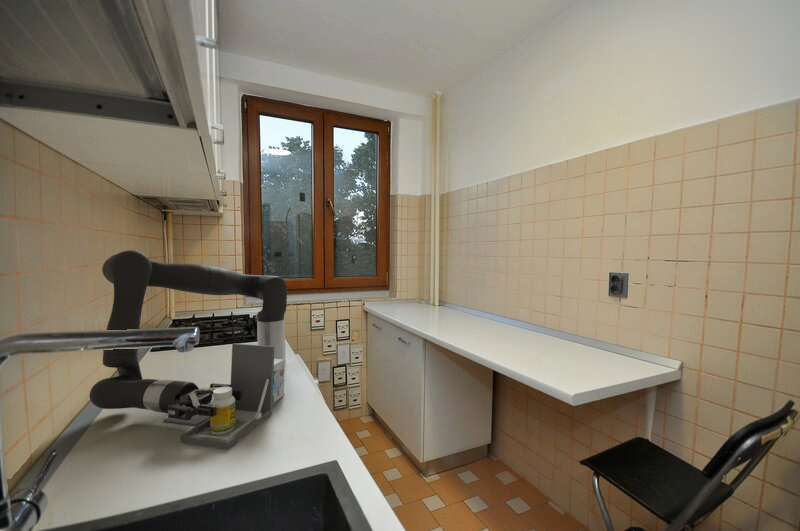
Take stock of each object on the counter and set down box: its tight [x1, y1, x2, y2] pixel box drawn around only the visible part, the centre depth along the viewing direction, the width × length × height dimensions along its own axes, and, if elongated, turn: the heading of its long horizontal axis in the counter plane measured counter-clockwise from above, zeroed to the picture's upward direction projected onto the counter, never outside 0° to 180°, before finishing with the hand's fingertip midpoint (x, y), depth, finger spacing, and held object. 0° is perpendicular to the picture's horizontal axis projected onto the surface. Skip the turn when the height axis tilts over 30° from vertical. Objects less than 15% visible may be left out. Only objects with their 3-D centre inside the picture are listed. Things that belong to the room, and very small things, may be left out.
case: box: [180, 342, 275, 450], centre depth 83 cm, size 18×12×18 cm
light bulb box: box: [272, 359, 285, 405], centre depth 96 cm, size 11×7×11 cm, turn 169°
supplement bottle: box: [209, 387, 237, 436], centre depth 81 cm, size 5×5×10 cm
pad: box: [163, 404, 210, 426], centre depth 89 cm, size 10×10×1 cm
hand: (228, 403), depth 81 cm, fingers open, 8 cm apart
